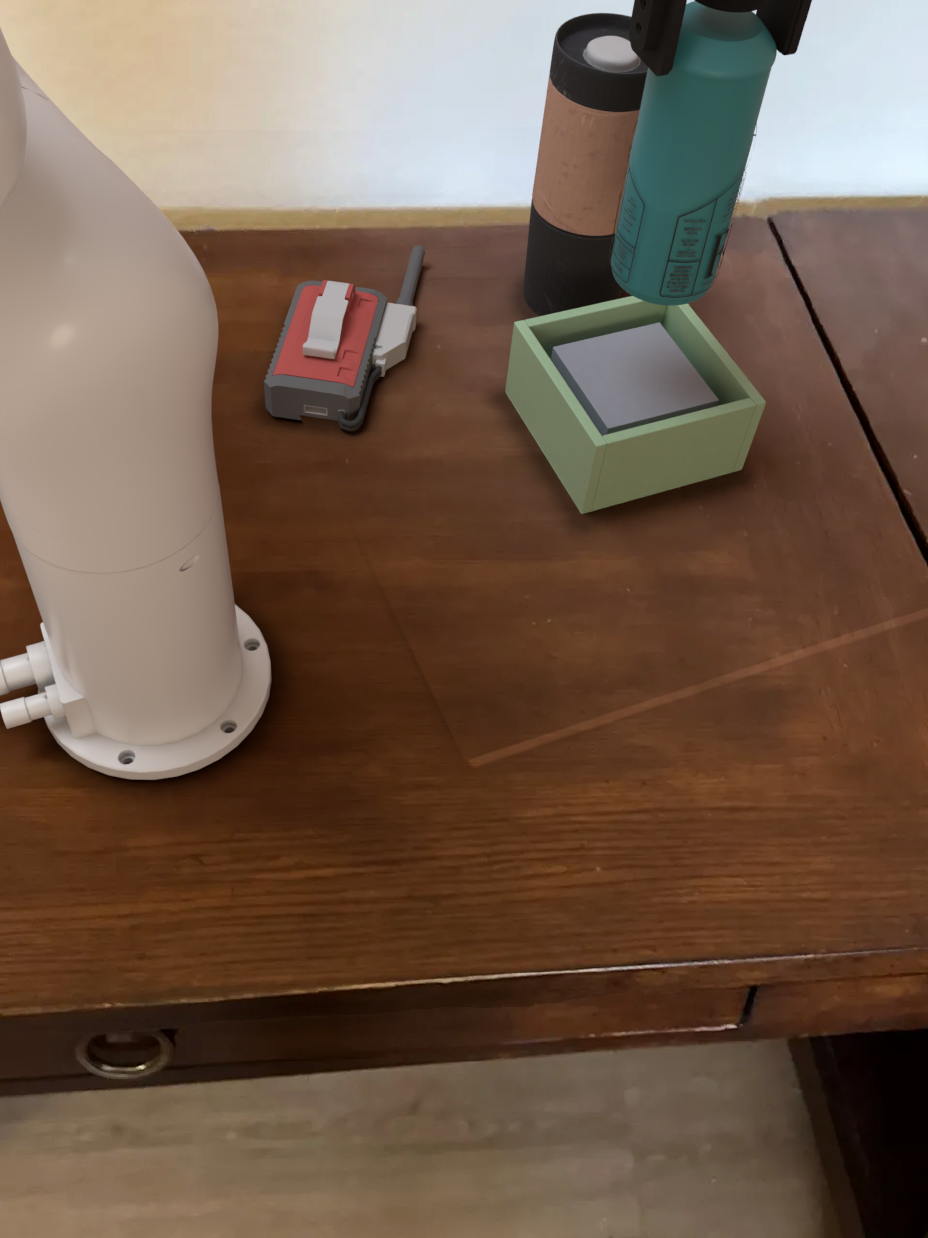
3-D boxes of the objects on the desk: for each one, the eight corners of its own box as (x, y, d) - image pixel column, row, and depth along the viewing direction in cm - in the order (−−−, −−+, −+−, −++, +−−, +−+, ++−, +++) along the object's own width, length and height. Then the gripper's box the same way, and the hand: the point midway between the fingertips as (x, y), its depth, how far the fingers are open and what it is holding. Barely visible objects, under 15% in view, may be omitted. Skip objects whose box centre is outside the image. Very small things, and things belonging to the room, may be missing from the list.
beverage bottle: (705, 338, 71) (807, -10, 55) (593, 316, 71) (662, -35, 55) (713, 271, 75) (811, -72, 59) (607, 251, 75) (676, -95, 59)
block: (595, 484, 79) (608, 428, 75) (543, 403, 83) (552, 346, 79) (701, 455, 81) (719, 400, 77) (645, 378, 85) (659, 321, 81)
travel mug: (505, 278, 92) (536, 16, 76) (598, 265, 94) (647, 6, 78) (538, 343, 88) (578, 80, 72) (635, 328, 90) (695, 68, 74)
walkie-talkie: (387, 448, 80) (432, 265, 92) (388, 398, 77) (435, 214, 89) (256, 429, 81) (319, 248, 93) (252, 378, 77) (317, 197, 89)
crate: (579, 522, 78) (596, 446, 72) (503, 399, 84) (513, 321, 79) (739, 477, 81) (766, 401, 76) (654, 363, 88) (674, 285, 82)
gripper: (943, -433, 51) (815, -6, 66) (577, -423, 46) (525, 37, 61) (1058, -378, 47) (895, 65, 62) (671, -360, 42) (592, 117, 57)
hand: (713, 48), depth 61 cm, fingers closed on beverage bottle, 6 cm apart
